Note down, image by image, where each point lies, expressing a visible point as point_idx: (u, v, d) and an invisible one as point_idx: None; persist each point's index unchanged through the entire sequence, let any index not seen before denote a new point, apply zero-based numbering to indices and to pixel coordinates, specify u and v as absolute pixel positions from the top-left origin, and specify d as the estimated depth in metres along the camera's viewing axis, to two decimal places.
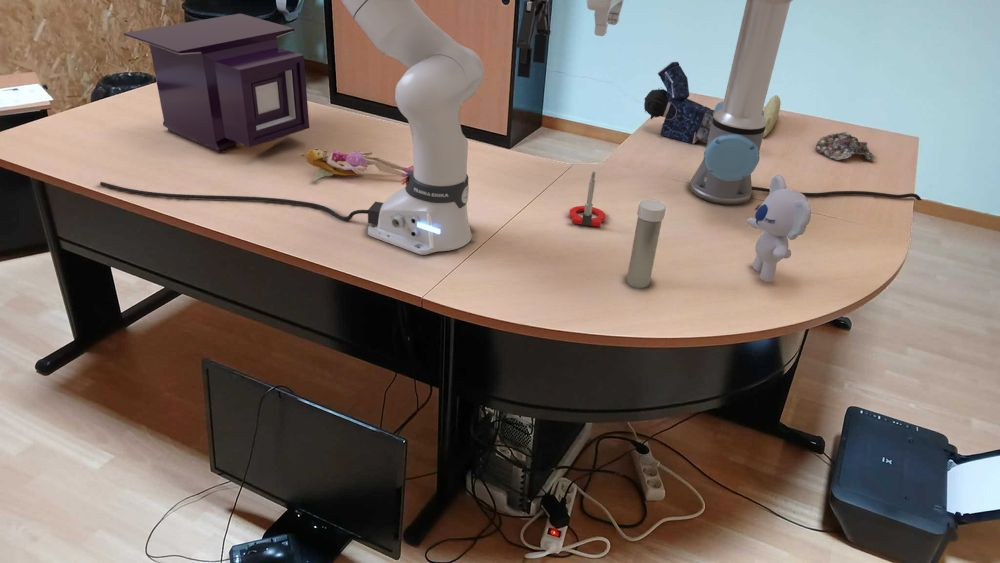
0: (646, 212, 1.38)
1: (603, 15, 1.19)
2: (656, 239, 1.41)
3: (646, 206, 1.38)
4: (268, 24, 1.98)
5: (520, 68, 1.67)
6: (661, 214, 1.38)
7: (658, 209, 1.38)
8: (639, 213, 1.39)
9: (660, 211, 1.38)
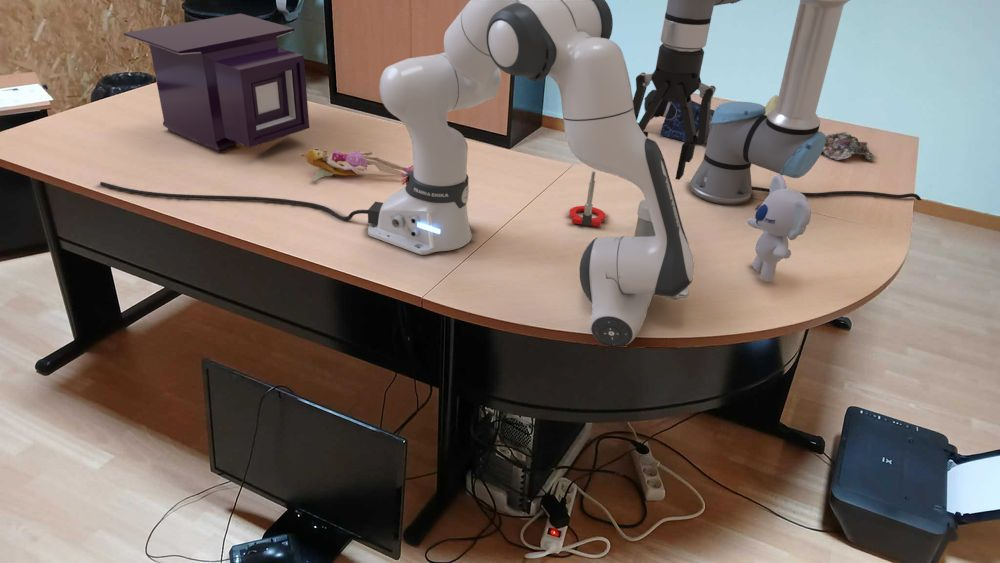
0: (646, 212, 1.38)
1: None
2: None
3: (646, 206, 1.38)
4: (268, 24, 1.98)
5: None
6: None
7: None
8: (639, 213, 1.39)
9: None
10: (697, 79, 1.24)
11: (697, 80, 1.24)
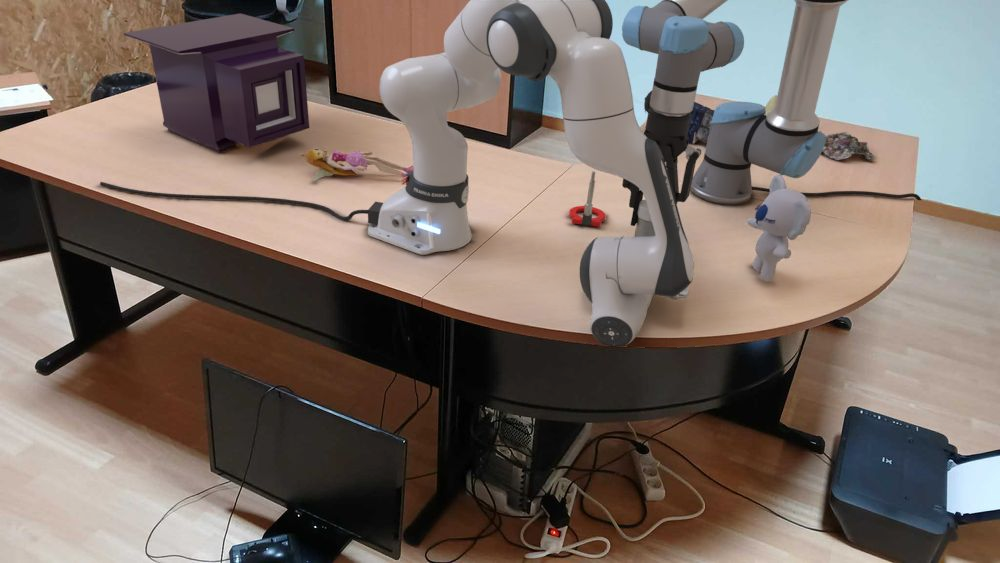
0: (646, 212, 1.38)
1: None
2: None
3: (646, 206, 1.38)
4: (268, 24, 1.98)
5: None
6: None
7: None
8: (639, 213, 1.39)
9: None
10: (684, 141, 1.30)
11: (684, 142, 1.30)
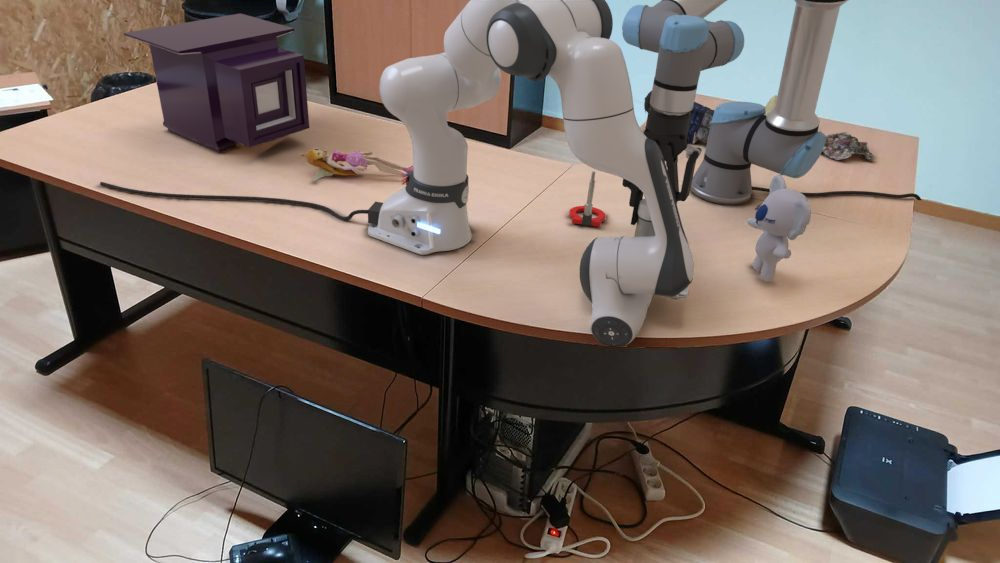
0: None
1: None
2: None
3: None
4: (268, 24, 1.98)
5: None
6: None
7: None
8: None
9: None
10: (685, 140, 1.30)
11: (685, 141, 1.30)
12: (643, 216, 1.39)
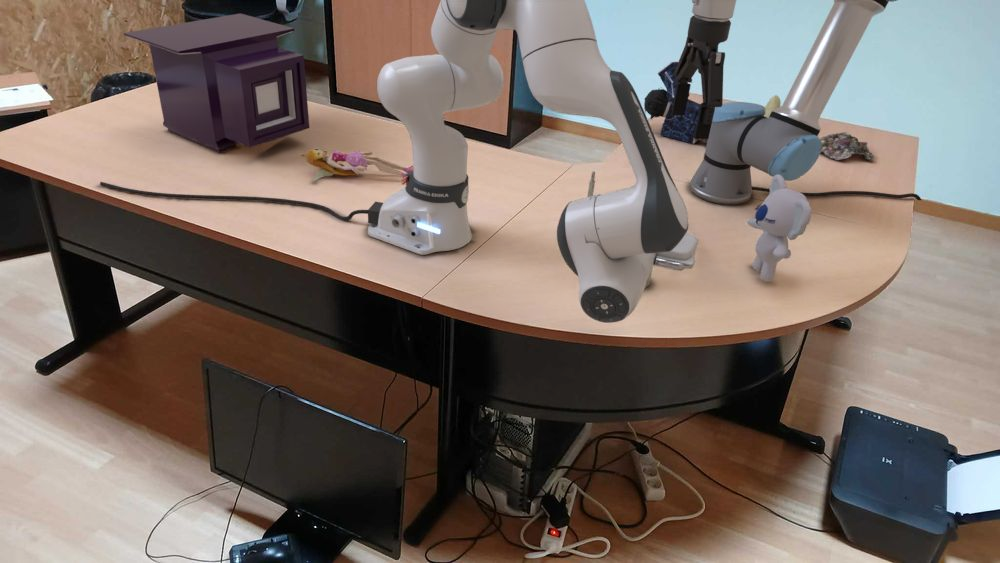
0: None
1: None
2: None
3: None
4: (268, 24, 1.98)
5: (699, 129, 1.41)
6: None
7: None
8: None
9: None
10: None
11: None
12: None
